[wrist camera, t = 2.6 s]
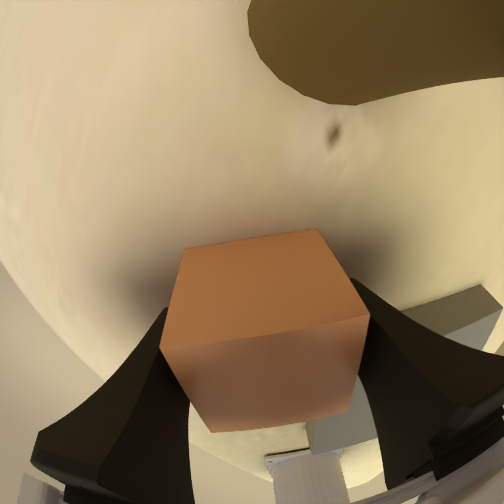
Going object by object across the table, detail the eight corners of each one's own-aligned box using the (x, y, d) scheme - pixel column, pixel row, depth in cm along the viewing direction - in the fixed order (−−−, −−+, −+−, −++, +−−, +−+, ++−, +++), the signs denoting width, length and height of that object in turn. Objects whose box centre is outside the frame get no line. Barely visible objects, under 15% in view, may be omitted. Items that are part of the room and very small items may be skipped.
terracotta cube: (316, 322, 13) (347, 411, 8) (213, 339, 13) (211, 432, 8) (315, 227, 10) (370, 313, 6) (185, 248, 10) (159, 347, 6)
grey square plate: (429, 385, 19) (441, 409, 16) (305, 424, 19) (311, 455, 17) (476, 280, 13) (503, 307, 11) (304, 327, 13) (319, 374, 11)
